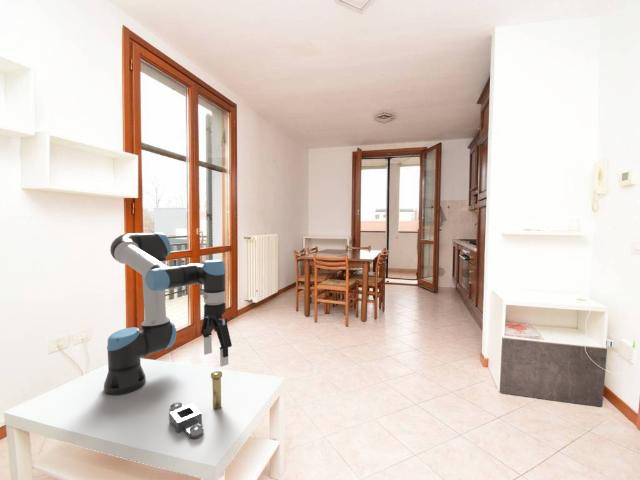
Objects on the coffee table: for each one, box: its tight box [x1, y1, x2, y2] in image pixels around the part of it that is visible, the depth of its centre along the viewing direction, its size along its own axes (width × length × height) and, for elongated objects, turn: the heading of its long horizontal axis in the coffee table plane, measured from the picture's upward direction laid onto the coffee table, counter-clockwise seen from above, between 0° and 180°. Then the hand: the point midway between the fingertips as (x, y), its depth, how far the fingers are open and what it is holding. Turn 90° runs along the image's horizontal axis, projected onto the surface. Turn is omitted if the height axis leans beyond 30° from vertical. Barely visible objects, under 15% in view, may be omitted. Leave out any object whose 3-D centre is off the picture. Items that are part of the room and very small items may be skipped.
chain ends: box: [168, 401, 205, 440], centre depth 111 cm, size 22×8×4 cm, turn 43°
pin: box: [210, 370, 223, 411], centre depth 120 cm, size 4×4×13 cm
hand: (215, 359), depth 119 cm, fingers open, 13 cm apart
